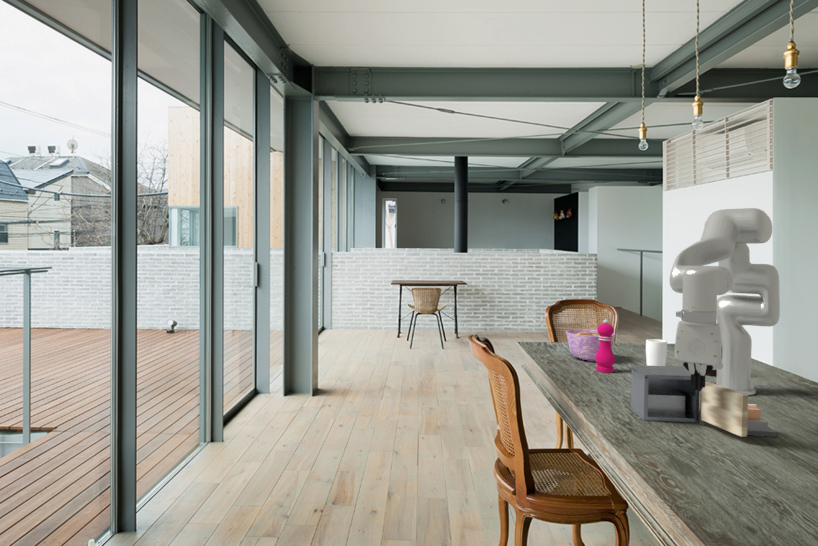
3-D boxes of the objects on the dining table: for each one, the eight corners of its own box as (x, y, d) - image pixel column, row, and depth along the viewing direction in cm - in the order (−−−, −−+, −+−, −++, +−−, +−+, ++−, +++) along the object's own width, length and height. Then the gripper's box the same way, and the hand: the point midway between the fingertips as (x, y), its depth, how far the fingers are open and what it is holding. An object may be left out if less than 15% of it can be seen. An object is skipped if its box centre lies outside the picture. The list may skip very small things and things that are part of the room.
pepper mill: (617, 373, 196) (618, 320, 195) (598, 373, 196) (599, 320, 195) (610, 369, 203) (611, 318, 202) (592, 368, 203) (593, 318, 202)
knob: (752, 422, 134) (753, 402, 134) (760, 427, 130) (760, 406, 130) (737, 421, 134) (738, 402, 134) (744, 426, 131) (745, 406, 131)
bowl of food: (576, 353, 235) (576, 327, 235) (621, 358, 223) (621, 332, 222) (557, 360, 220) (558, 332, 220) (605, 366, 207) (606, 337, 207)
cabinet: (681, 409, 151) (682, 366, 150) (698, 422, 139) (699, 376, 138) (630, 407, 152) (631, 365, 152) (643, 420, 140) (644, 374, 140)
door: (697, 424, 138) (698, 381, 137) (702, 423, 138) (703, 380, 137) (741, 443, 124) (742, 395, 123) (746, 442, 124) (748, 395, 124)
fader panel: (740, 414, 146) (740, 401, 146) (776, 437, 128) (777, 422, 128) (705, 413, 147) (706, 400, 147) (737, 435, 129) (737, 421, 129)
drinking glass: (644, 384, 179) (645, 341, 179) (645, 380, 185) (646, 338, 185) (666, 386, 176) (667, 342, 176) (666, 382, 182) (667, 339, 182)
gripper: (662, 316, 132) (662, 388, 133) (731, 322, 122) (730, 398, 123) (670, 313, 137) (669, 381, 139) (736, 317, 128) (734, 391, 129)
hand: (697, 389), depth 131 cm, fingers closed
